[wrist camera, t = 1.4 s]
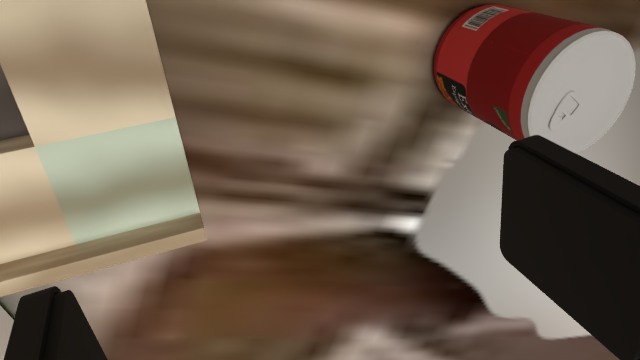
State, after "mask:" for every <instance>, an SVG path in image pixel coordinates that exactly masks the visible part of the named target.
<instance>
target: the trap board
mask: <svg viewBox="0 0 640 360" xmlns="http://www.w3.org/2000/svg"><path fill="white" fill-rule="evenodd" d="M206 240H207V238H206V234H205V230H204V226H203V222H202V218H201V215H200V211H199V207H198V203H197V199H196V195H195V191H194V187H193V183H192V179H191V176H190V172H189V168H188V164H187V160H186V156H185V152H184V148H183V144H182V140H181V136H180V133H179V129H178V125H177V121H176V117H175V113H174V109H173V105H172V101H171V97H170V93H169V90H168V86H167V82H166V78H165V74H164V70H163V66H162V62H161V58H160V54H159V50H158V47H157V43H156V39H155V35H154V31H153V27H152V23H151V19H150V15H149V11H148V8H147V4H146V0H0V297H1V296H5V295H9V294H12V293H16V292H20V291H23V290H27V289H31V288H34V287H38V286H41V285H45V284H49V283H52V282H56V281H60V280H63V279H67V278H71V277H74V276H78V275H82V274H85V273H89V272H93V271H96V270H100V269H104V268H107V267H111V266H115V265H118V264H122V263H126V262H129V261H133V260H137V259H140V258H144V257H147V256H151V255H155V254H158V253H162V252H166V251H169V250H173V249H177V248H180V247H184V246H188V245H191V244H195V243H199V242H202V241H206Z"/></svg>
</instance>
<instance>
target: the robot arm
mask: <svg viewBox="0 0 640 360" xmlns="http://www.w3.org/2000/svg"><path fill="white" fill-rule="evenodd" d="M500 249H501V252H502V254H503V256H504V257H505V259H506V260H507V261H508V262H509V263H510V264H511V265H513V266H514V267H515V268H516V269H517V270H518V271H519V272H521V273H522V274H523V275H524V276H525V277H526V278H527V279H529V280H530V281H531V282H532V283H533V284H534V285H535V286H537V287H538V288H539V289H540V290H541V291H542V292H543V293H545V294H546V295H547V296H548V297H549V298H550V299H551V300H553V301H554V302H555V303H556V304H557V305H558V306H559V307H561V308H562V309H563V310H564V311H565V312H566V313H567V314H568V315H570V316H571V317H572V318H573V319H574V320H575V321H576V322H578V323H579V324H580V325H581V326H582V327H583V328H584V329H586V330H587V331H588V332H589V333H590V334H591V335H592V336H594V337H595V338H596V339H597V340H598V341H599V342H600V343H602V344H603V345H604V346H605V347H606V348H607V349H608V350H610V351H611V352H612V353H613V354H614V355H615V356H616V357H618V358H619V359H620V360H640V186H638V185H636V184H634V183H632V182H631V181H628V180H627V179H624V178H623V177H621V176H619V175H617V174H615V173H613V172H611V171H609V170H607V169H605V168H603V167H601V166H599V165H597V164H595V163H593V162H591V161H589V160H587V159H585V158H583V157H581V156H580V155H577V154H576V153H574V152H572V151H570V150H568V149H566V148H564V147H562V146H560V145H558V144H556V143H554V142H552V141H550V140H548V139H546V138H544V137H542V136H540V135H533V136H530V137H527V138H523V139H520V140H517V141H514V142H512V143H511V144H510V146H509V150H507V151H506V152H505V154H504V165H503V188H502V208H501V230H500ZM4 360H107V358H106V356H105V354H104V352H103V350H102V348H101V346H100V344H99V342H98V340H97V338H96V336H95V335H94V333H93V331H92V329H91V327H90V325H89V323H88V321H87V319H86V317H85V315H84V313H83V311H82V309H81V307H80V305H79V304H78V302H77V300H76V298H75V296H74V294H73V293H72V292H71V291H70V290H67V291H64V292H61V291H60V289H59V288H58V287H55V286H54V287H51V288H47V289H44V290H41V291H38V292H35V293H32V294H28V295H25V296H23V297H21V298H20V301H19V303H18V307H17V311H16V315H15V319H14V322H13V326H12V330H11V334H10V337H9V341H8V345H7V349H6V352H5V356H4Z"/></svg>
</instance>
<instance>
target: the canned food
mask: <svg viewBox="0 0 640 360" xmlns="http://www.w3.org/2000/svg"><path fill="white" fill-rule="evenodd" d="M635 71H636V70H635V57H634V52H633V49H632V48H631V46H630V44H629V42H628V41H627V40H626V39H625V38H624V37H623V36H621V35H619V34H617V33H615V32H612V31H610V30H608V29H604V28H600V27H596V26H593V25H588V24H584V23H579V22H575V21H570V20H566V19H561V18H557V17H552V16H548V15H543V14H539V13H534V12H530V11H526V10H521V9H517V8H512V7H508V6H503V5H497V4H492V5H484V6H480V7H477V8H474V9H471V10H469V11H467V12H465V13H464V14H462V15H461V16H460V17H458V18H457V19H456V20H455V21H454V22H453V23H452V24H451V25H450V26H449V28H448V29H447V30H446V32H445V33H444V35H443V36H442V38H441V41H440V43H439V45H438V47H437V51H436V54H435V60H434V75H435V79H436V83H437V85H438V87H439V89H440V91H441V92H442V94H443V95H444V96H445V97H446V99H447V100H448V101H450V102H451V103H453V104H454V105H456V106H458V107H459V108H461V109H463V110H465V111H466V112H468V113H470V114H472V115H473V116H475V117H477V118H479V119H480V120H482V121H484V122H486V123H487V124H489V125H491V126H493V127H494V128H496V129H498V130H500V131H501V132H503V133H505V134H507V135H508V136H510V137H512V138H514V139H515V140H520V139H523V138H527V137H530V136H533V135H540V136H542V137H544V138H546V139H548V140H550V141H552V142H554V143H556V144H558V145H560V146H562V147H564V148H566V149H568V150H570V151H572V152H574V153H579V152H581V151H583V150H584V149H586V148H588V147H590V146H591V145H593V144H594V143H595V142H596V141H598V140H599V139H600V138H601V137H602V136H603V135H604V134H605V133H606V132H607V131H608V130H609V129H610V128H611V126H612V125H613V124H614V123H615V121H616V120H617V119H618V117H619V116H620V114H621V112H622V110H623V109H624V107H625V105H626V103H627V101H628V99H629V96H630V94H631V90H632V87H633V84H634V77H635Z"/></svg>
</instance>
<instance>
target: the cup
mask: <svg viewBox="0 0 640 360" xmlns="http://www.w3.org/2000/svg"><path fill="white" fill-rule="evenodd" d="M13 322H14V320H13V319H12V318H11V317H10V316H9V315H8V313H7V312H6V311H5V310H4V309H3V308H2V307H1V306H0V360H4V356H5V352H6V349H7V345H8V341H9V337H10V334H11V330H12V326H13Z"/></svg>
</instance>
